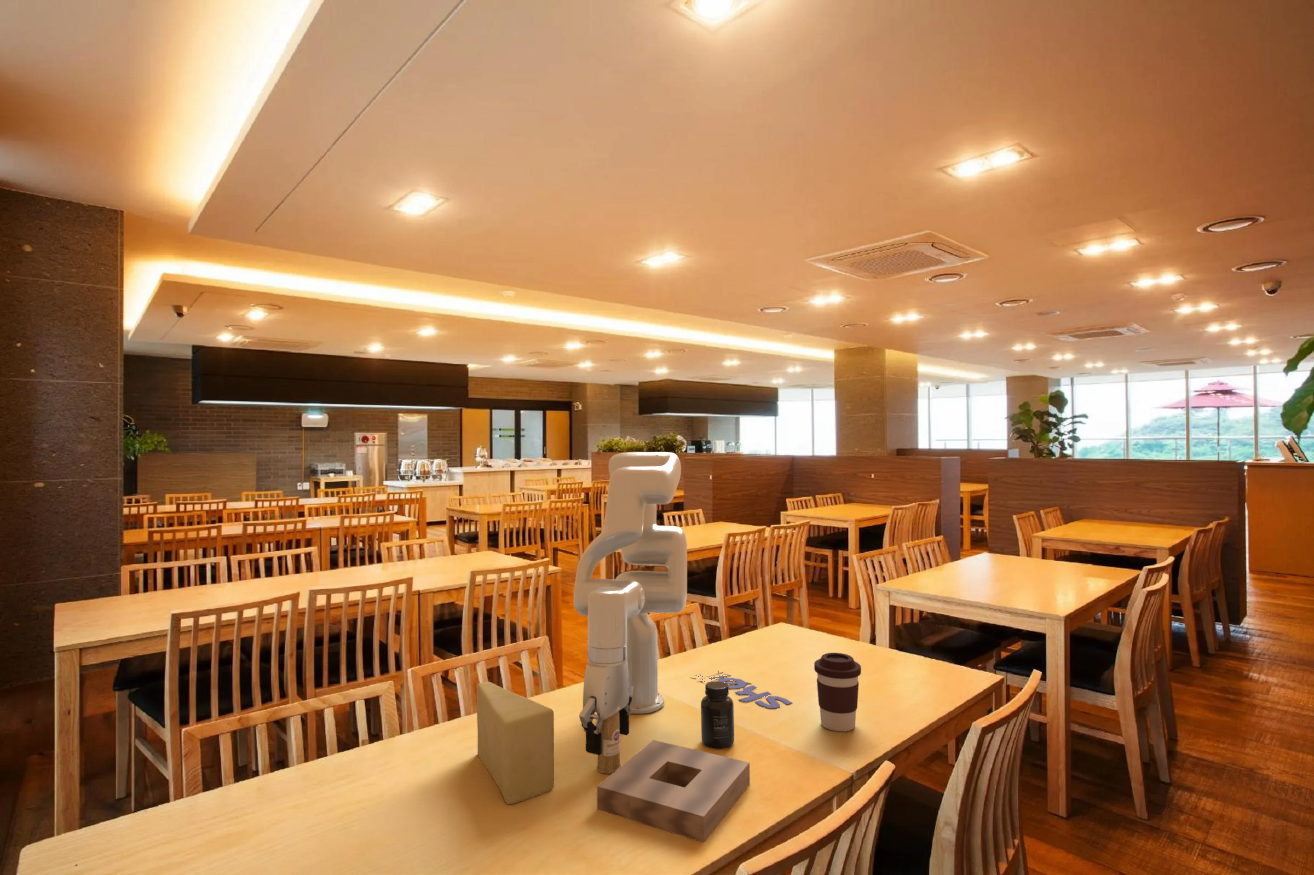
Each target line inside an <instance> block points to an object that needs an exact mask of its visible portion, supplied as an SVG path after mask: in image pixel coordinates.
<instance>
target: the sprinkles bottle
mask: <svg viewBox="0 0 1314 875" xmlns="http://www.w3.org/2000/svg"><path fill="white" fill-rule="evenodd" d="M619 709H620V707H619V706H618V707H617V710H616V711H618V710H619ZM596 715H600V713H596ZM599 732H601V733H602V753H601V754H600V755H597V764H596V769H597V771H598V772H599V773H602V774H606V775H608V774H609V775H610V774H612V773H614V772H615V771H616V770H617V769H619V768H620V767H621V762H620V759H621V757H620V756H621V755H620V753H621V734H619V732H620V731H619V711H618V712H616V713H615V714H613V715H612V716H610V717H609V718H607V719H605V720H603V723H602V725H601V728H600V731H599Z"/></svg>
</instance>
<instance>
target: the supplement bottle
mask: <svg viewBox="0 0 1314 875" xmlns="http://www.w3.org/2000/svg"><path fill="white" fill-rule="evenodd" d="M729 692H730V691H729V689H728V684H727V683H724V682H720V681H718V680H715V681H711V682H707V683H705V689H704V694H705V696H703V698H702V699H701V701H700V726H701V727H700V728H701V730H700V731H701V737H700V738H701V742H702V744H703V745H704V746H705V747H706V748H709V749H712V750H725V749H728V748H730V747H732V746H733V744H734V743H735V716H734V714H735V710H734V708H735V706H734V700H733V699H732V697H730V696H729V695H730V693H729Z"/></svg>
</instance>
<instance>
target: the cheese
mask: <svg viewBox="0 0 1314 875" xmlns="http://www.w3.org/2000/svg"><path fill="white" fill-rule="evenodd" d="M554 719H555V714H554V710H553V709H552V708H550V707H548V706H545V705H543V704H541V703H539V702H536V701H534V700H532V699H530V698H527V697H525V696H523V695H520V694H517V693H515V692H513V691H510V690H509V689H506V688H503V687H501V686H498V685H497V684H495V683H493V682H490V681H482V682H480V683H477V685H476V723H477V724H476V725H477V755H478V757H479V759H480V761H482V764H483V765H484V767H485V768H486V769H487V771H488V772H489V774H490V775H491V776H492V778H493V780H494V781H495V783H496V784H497V787H498V788H499V790H500V792H501V795H502V796H503V799H504V802H506V804H508V805H514V804H517V803H520V802H524V801H525V800H529V799H530V798H531V799H532V798H534V797H537V796H539V795H542V794H544V793H547V792H549V791H551V790H552V789H554V787H555V727H554V726H555V723H554V722H555V721H554Z"/></svg>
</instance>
